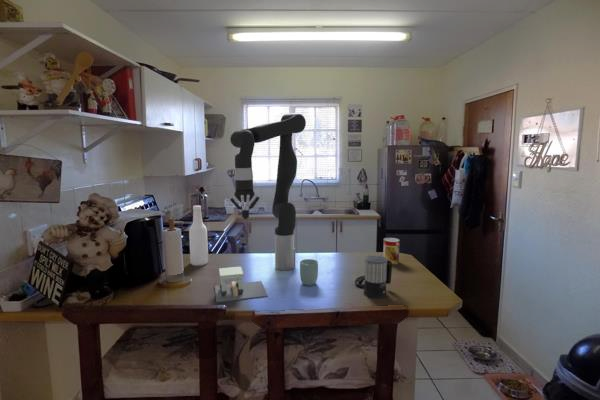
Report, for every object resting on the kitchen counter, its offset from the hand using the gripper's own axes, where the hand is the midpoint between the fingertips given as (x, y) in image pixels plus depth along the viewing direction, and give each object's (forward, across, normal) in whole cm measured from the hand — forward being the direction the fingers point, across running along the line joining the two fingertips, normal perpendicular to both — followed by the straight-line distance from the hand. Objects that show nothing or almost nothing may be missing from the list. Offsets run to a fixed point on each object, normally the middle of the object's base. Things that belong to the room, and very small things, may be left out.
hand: (245, 218), depth 150 cm
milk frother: (+30, -48, +23) cm, 61 cm away
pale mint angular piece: (+24, +8, +10) cm, 27 cm away
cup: (+29, -25, +10) cm, 40 cm away
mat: (+28, +4, +10) cm, 30 cm away
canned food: (+30, -76, -7) cm, 82 cm away
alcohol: (+29, +20, -32) cm, 48 cm away
